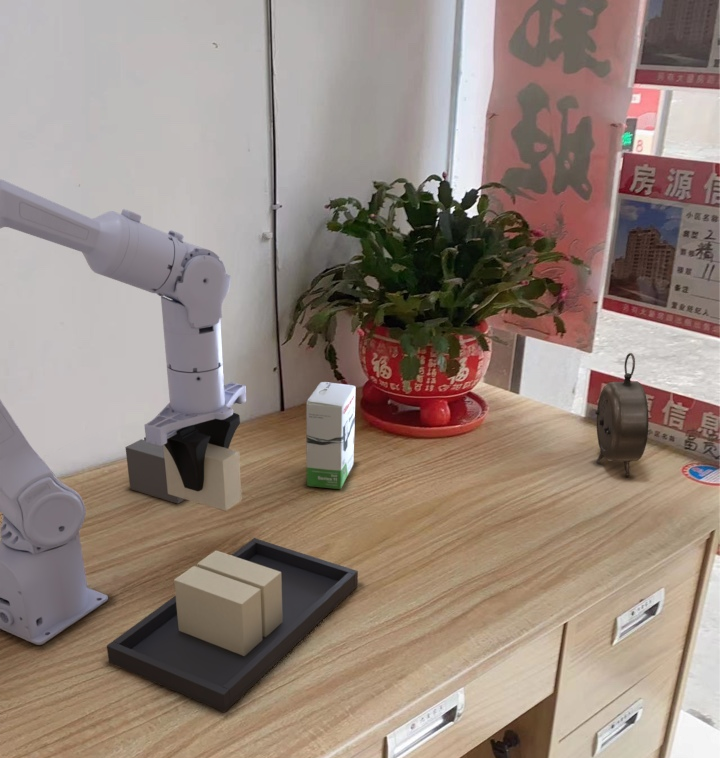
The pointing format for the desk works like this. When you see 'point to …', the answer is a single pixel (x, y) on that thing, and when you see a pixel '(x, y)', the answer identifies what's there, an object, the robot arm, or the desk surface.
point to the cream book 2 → (251, 584)
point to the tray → (221, 666)
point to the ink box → (330, 434)
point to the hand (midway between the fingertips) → (203, 482)
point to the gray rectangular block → (148, 470)
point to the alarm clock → (622, 420)
